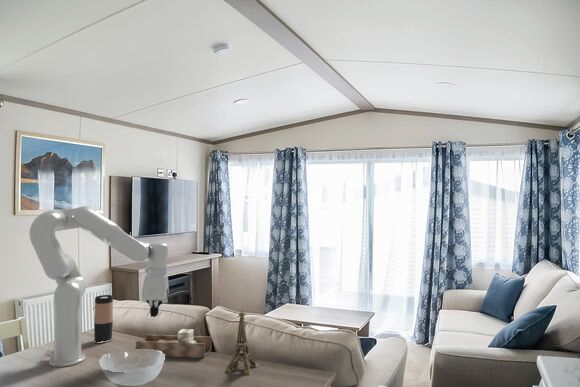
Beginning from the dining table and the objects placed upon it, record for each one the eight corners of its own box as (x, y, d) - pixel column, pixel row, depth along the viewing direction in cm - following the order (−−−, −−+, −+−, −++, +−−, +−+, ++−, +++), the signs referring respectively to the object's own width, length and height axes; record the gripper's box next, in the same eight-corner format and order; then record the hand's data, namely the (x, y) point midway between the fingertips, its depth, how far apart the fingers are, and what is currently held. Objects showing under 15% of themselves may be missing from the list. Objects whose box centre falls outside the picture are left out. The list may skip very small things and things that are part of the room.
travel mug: (90, 343, 181) (91, 298, 182) (100, 337, 189) (101, 294, 190) (105, 344, 180) (106, 298, 181) (115, 338, 188) (116, 295, 189)
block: (177, 344, 167) (177, 332, 167) (182, 340, 172) (182, 328, 172) (189, 345, 167) (189, 332, 167) (193, 341, 172) (193, 329, 172)
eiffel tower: (259, 364, 156) (259, 299, 157) (250, 375, 146) (250, 305, 147) (233, 362, 159) (233, 298, 160) (223, 372, 148) (223, 304, 149)
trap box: (135, 355, 166) (135, 341, 167) (146, 347, 176) (146, 334, 176) (204, 357, 163) (204, 344, 164) (211, 349, 173) (211, 336, 173)
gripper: (136, 272, 169) (132, 316, 168) (170, 274, 167) (167, 319, 166) (144, 270, 176) (141, 312, 175) (177, 272, 175) (174, 315, 174)
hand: (154, 316), depth 171 cm, fingers closed
